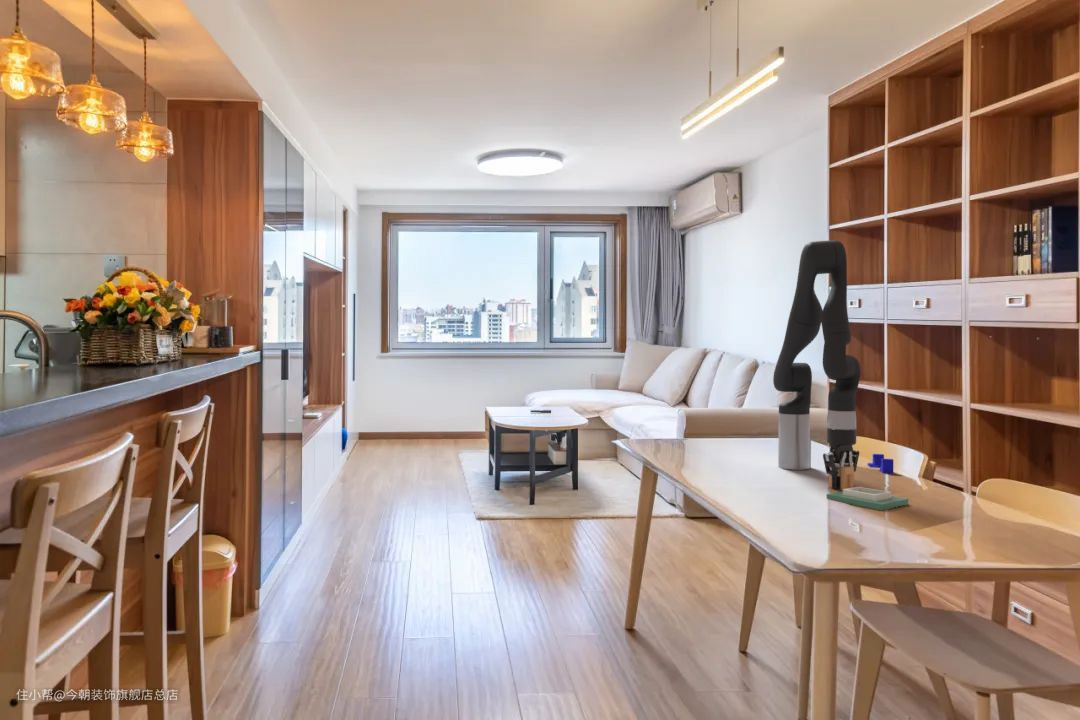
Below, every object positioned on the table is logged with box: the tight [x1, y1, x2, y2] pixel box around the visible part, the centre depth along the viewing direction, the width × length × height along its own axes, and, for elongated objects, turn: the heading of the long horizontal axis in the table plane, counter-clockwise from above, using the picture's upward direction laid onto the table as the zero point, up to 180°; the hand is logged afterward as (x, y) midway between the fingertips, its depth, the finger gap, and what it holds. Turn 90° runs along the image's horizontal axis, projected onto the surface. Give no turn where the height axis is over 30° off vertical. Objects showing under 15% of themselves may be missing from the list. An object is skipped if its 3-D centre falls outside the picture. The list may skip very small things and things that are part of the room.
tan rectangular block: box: [828, 463, 855, 491], centre depth 198 cm, size 4×6×7 cm
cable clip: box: [867, 453, 894, 474], centre depth 225 cm, size 12×4×6 cm, turn 169°
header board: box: [826, 486, 909, 511], centre depth 183 cm, size 12×15×3 cm
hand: (841, 488), depth 198 cm, fingers closed on tan rectangular block, 4 cm apart
